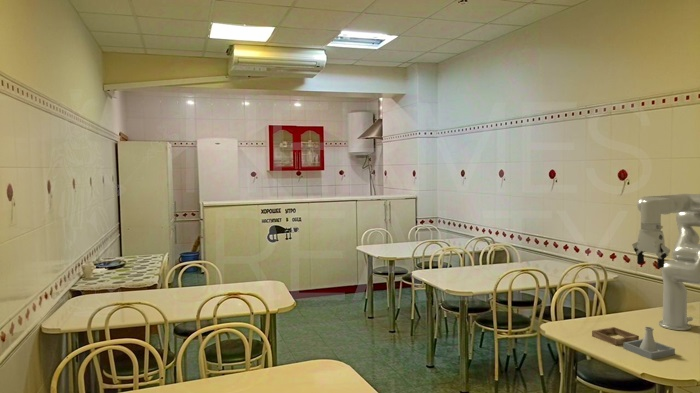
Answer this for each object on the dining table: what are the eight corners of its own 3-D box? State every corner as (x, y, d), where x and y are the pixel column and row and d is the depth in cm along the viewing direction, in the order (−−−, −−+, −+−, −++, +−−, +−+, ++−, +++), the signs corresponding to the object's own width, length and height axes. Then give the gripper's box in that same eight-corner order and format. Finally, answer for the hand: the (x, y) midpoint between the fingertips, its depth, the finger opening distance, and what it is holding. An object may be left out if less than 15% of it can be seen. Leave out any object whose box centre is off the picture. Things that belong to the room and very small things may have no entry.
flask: (662, 355, 201) (662, 331, 200) (642, 354, 202) (643, 330, 201) (654, 348, 208) (655, 325, 207) (635, 347, 209) (636, 324, 208)
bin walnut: (613, 332, 228) (613, 327, 228) (638, 341, 216) (638, 335, 216) (592, 336, 224) (592, 330, 224) (616, 345, 212) (616, 339, 212)
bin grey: (645, 344, 213) (646, 338, 213) (674, 354, 201) (674, 348, 201) (623, 348, 209) (623, 342, 208) (651, 359, 196) (651, 353, 196)
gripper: (675, 228, 211) (675, 268, 212) (639, 224, 227) (639, 261, 228) (663, 230, 208) (662, 270, 209) (627, 225, 224) (627, 262, 225)
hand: (650, 265), depth 219 cm, fingers open, 9 cm apart
